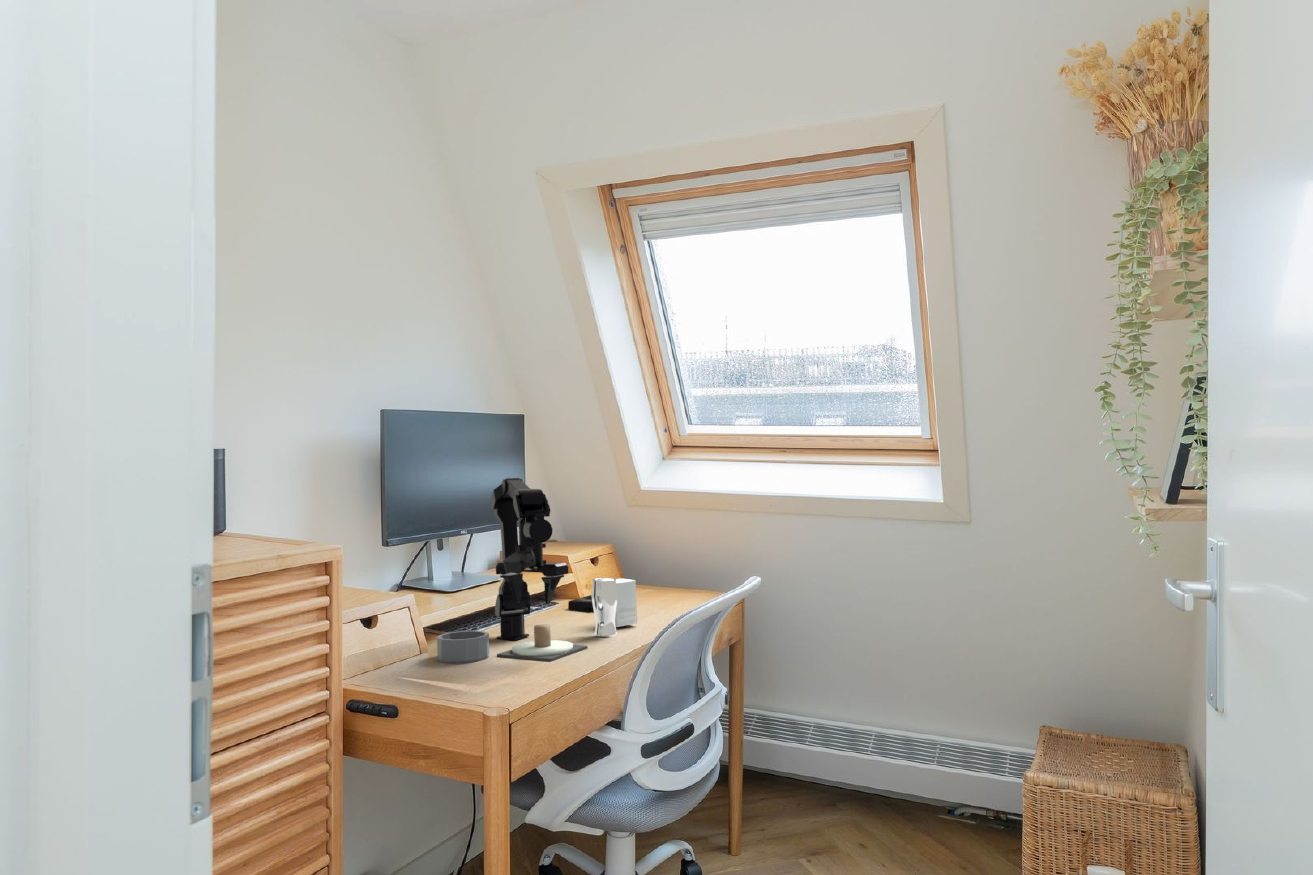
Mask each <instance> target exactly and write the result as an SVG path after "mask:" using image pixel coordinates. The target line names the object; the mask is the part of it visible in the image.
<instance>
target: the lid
mask: <svg viewBox="0 0 1313 875" xmlns="http://www.w3.org/2000/svg"><path fill="white" fill-rule="evenodd" d="M533 631H534V632H533V636H534V639H533V640H531V641H526V642H520V643H518V644H515V645H512V648H511V650H512V653H513V654H516V655H520V656H550V655H558V654H563V653H567V652H569V651H571V650H573V645H574V643H573V642H570V641H566V640H560V639H559V640H558V639H555V640H554V639H551V637H552V636H551V625H550V624H548V623H547V624H546V623H545V624H544V623H543V624H542V623H541V624H536V625H533Z"/></svg>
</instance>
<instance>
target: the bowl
mask: <svg viewBox="0 0 1313 875" xmlns="http://www.w3.org/2000/svg"><path fill="white" fill-rule="evenodd" d="M436 645H437V646H436V649H437V651H436V652H437V659H438V661H439V662H441V663H445V664H468V663H473V662H474V663H475V662H481V661H484V660H486V659H488V658H489V655H490V634H489V632H487V631H485V630H484V631H483V630H460V631H451V632H446V633H442V634H439V635H438V636H437V637H436Z"/></svg>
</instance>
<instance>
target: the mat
mask: <svg viewBox="0 0 1313 875" xmlns="http://www.w3.org/2000/svg"><path fill="white" fill-rule="evenodd" d="M587 649H588V645H581V644H580V645H579V644H573V650H571V651H569V652H567V653H563V654H558V655H550V656H520V655H516V654H513V653H512V649H509V650H505V651H503V652H499V653H496V658H497V657H499V658H505V659H506V658H507V659H508V658H509V659H521V660H530V661H533V660H534V661H542V662H545V661H546V662H553V661H557V660H558V659H562V658H564V657H567V656H570V655H573V654H576V653H578V652H581V651H583V650H587Z"/></svg>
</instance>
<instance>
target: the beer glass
mask: <svg viewBox="0 0 1313 875" xmlns="http://www.w3.org/2000/svg"><path fill="white" fill-rule="evenodd" d="M616 579H617V578H614V577H602V578H601V577H600V578H599V577H598V578H593V579H591V595H592V604H593V609H594V613H593V615H594V618H595V629H594V636H595V637H598V638H610V637H615V636H617V635H618V632H617V627H616V626H615V615H616V608H617V584H616Z"/></svg>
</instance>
